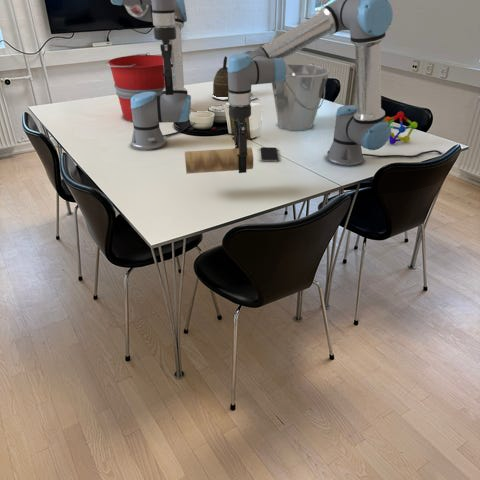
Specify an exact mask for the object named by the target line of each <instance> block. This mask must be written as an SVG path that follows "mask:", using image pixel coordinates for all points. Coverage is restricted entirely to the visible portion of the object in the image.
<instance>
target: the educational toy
mask: <svg viewBox="0 0 480 480" xmlns="http://www.w3.org/2000/svg"><path fill="white" fill-rule="evenodd" d="M397 119H399V124H400V125H399V127H398V126H393V125H391V124H392V123H394V122H395V121H396V120H397ZM403 120H404V121H405V122H407V123H408V124H409V125H407V126H404V123H403ZM385 122H387V123H388V124H389V125H390V127H391V129H393V130H397V131H398V132H396V134H395V133H394V132H392V131H391V135H390V138H389V140H388V142H389V145H395V144H396V143H397V142H402V141H403V142H404V143H409V142H410V140H411V138H410V136H411V134H412V132H413V131H414V130H415V129H417V127H418V122H417V121H411V120H410V119H409V118H408V117H406V116H405V113H404V112H403V111H401V110H400V111H398V112H397V114H396V115H394V116H391V117H390V116H385ZM408 129H409V131H408V133H407V134H406V135H404V136H401V134H403V133H405V132H406V130H408ZM399 135H400V136H399Z"/></svg>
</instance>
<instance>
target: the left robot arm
mask: <svg viewBox="0 0 480 480" xmlns="http://www.w3.org/2000/svg"><path fill="white" fill-rule="evenodd" d="M110 2H111V4H112V5H114V6H115V5H116V6H124V7H125V9H126V11H127V13H128V14H129V15H130V16H132V17H133V18H134V19H137V20H140V21H142V22H143V21H144V22H147V23H148V22H150V23H152V25H153V26H154V28H153V37H154V39H155V40H157V41H161V44H159V47H160V51H161V56H162V58H163V69H164V73H162V76H164V85H165V87H164V89H163V90H162V96H157V94H156V92H143V93H139V94H136V95H134V96H133V97H132V98H131V110H132V118H133V122H132V125H133V132H132V135H131V142H130V143H131V147H132V148H134V149H135V150H141V151H151V150H153V151H154V150H157V149H161V148H163V147H164V146H165V144H166V140H165V137H169V136H173V135H177V134H180V133H183V132H184V131H185V130H186V129H188V128H189V127H191V126H192V125H191V123H189V124H188V125H187V126H185V127H184V128H183V129H181V130H179V131H176V132H171V133H167V134H163V132H162V130H161V127H160V123H184V122H188V121H189V120H190V115H191V101H192V95H191V94H188V92H189V91H188V89H186V88H185V82H184V80H185V79H184V63H183V62H184V61H183V44H182V43H183V42H182V29H183V28H184V27H185V23H186V22H187V21H188V16H187V9H186V5H185V0H110ZM258 99H259V98H258V97H255V98H251V102H253V101H255V100H258Z"/></svg>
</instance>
